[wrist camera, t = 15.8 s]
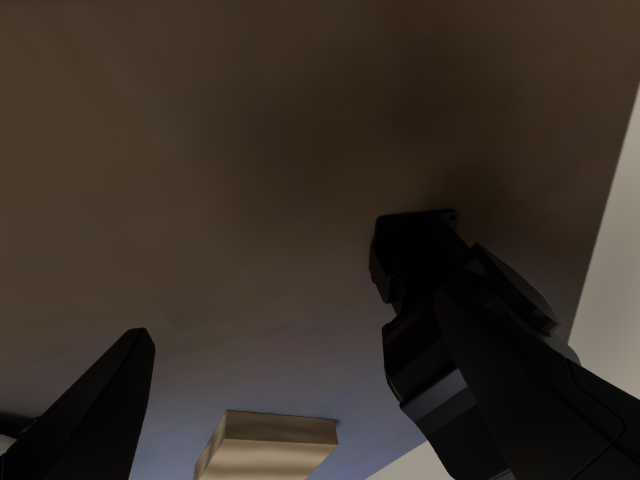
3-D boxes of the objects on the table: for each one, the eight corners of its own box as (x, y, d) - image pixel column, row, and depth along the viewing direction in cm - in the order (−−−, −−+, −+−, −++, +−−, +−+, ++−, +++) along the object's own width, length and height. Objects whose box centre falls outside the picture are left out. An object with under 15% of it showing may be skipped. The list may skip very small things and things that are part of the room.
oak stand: (226, 410, 36) (224, 438, 33) (333, 419, 41) (338, 445, 38) (195, 465, 42) (191, 492, 40) (291, 467, 47) (292, 491, 45)
